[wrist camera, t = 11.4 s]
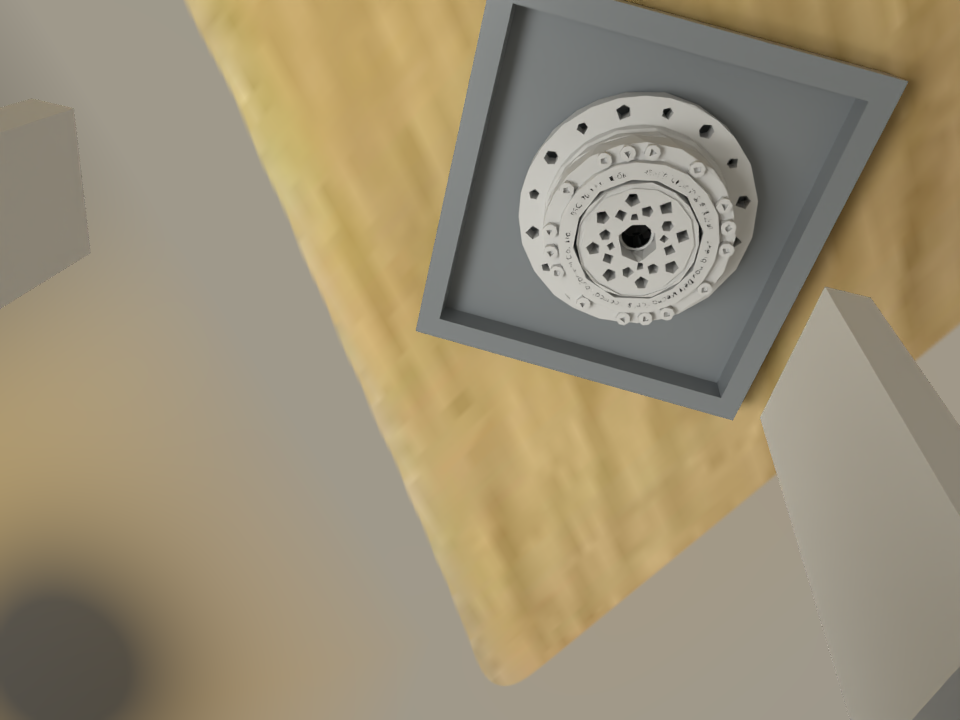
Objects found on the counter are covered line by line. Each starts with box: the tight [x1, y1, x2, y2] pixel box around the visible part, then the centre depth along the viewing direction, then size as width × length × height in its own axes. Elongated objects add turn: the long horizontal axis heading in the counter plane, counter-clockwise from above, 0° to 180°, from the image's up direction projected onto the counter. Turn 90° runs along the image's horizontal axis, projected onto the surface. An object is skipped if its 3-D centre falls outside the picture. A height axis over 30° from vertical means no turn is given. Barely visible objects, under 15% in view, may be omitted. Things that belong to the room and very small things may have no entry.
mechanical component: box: [519, 92, 758, 325], centre depth 30 cm, size 10×4×10 cm
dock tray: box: [416, 0, 908, 420], centre depth 32 cm, size 16×16×2 cm
